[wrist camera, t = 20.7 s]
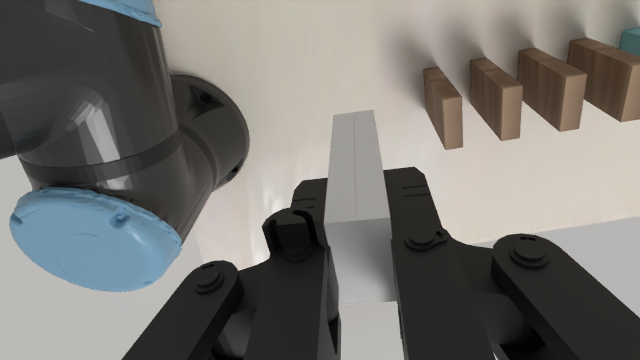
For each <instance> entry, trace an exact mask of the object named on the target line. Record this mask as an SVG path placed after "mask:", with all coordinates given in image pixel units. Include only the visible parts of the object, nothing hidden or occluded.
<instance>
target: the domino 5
mask: <svg viewBox="0 0 640 360" xmlns="http://www.w3.org/2000/svg"><path fill="white" fill-rule="evenodd" d="M620 50H623V51H626V52H628V53H631V54H634V55H637V56H640V27H639V28H634V29H628V30H623V33H622V38H621V43H620Z"/></svg>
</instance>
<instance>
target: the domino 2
mask: <svg viewBox="0 0 640 360" xmlns="http://www.w3.org/2000/svg"><path fill="white" fill-rule="evenodd" d="M470 91H471V105H472V106H473V107H474V108H475V110H476V111H477V112H478V113H479V114H480V116H481V117H482V118H483V119H484V121H485V122H486V123H487V124H488V126H489V127H490V128H491V129H492V130H493V132H494V133H495V134H496V135H497V137H498V138H499V139H500V140H501V141H505V140H511V139H517V138H520V122H521V107H522V91H523V85H521V84H520V83H519V82H518V81H516V80H515V79H514V78H512V77H511V76H510V75H508V74H507V73H506V72H504V71H503V70H502V69H500V68H499V67H498V66H496V65H495V64H494V63H493V62H491V61H490V60H489V59H487V58H486V57H484V58H479V59H474V60H470Z"/></svg>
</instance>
